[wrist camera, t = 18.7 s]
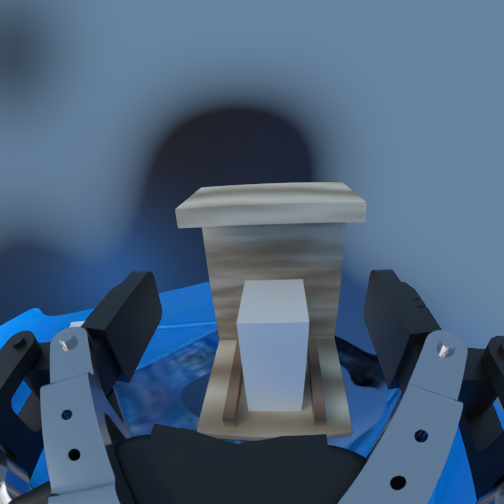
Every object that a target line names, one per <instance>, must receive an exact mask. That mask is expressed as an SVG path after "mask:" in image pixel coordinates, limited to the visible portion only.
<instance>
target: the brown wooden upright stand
mask: <svg viewBox="0 0 504 504" xmlns="http://www.w3.org/2000/svg"><path fill="white" fill-rule="evenodd" d="M175 210H176V218H177V224H178V228H191V227H202V230H203V238H204V245H205V252H206V259H207V266H208V273H209V279H210V286H211V292H212V298H213V304H214V310H215V316H216V322H217V328H218V333H219V339H220V340H219V344H218V348H217V352H216V356H215V360H214V364H213V368H212V372H211V376H210V379H209V383H208V387H207V391H206V395H205V399H204V403H203V407H202V411H201V415H200V419H199V423H198V427H197V432H200V433H202V434H205V435H208V436H211V437H214V438H220V439H233V440H253V441H259V440H264V439H270V438H275V437H279V436H297V435H318V434H327V439H328V438H339V437H347V436H351V435H352V426H351V420H350V414H349V409H348V403H347V397H346V392H345V387H344V382H343V377H342V372H341V367H340V362H339V357H338V353H337V348H336V343H335V339H334V337H335V328H336V321H337V313H338V305H339V295H340V285H341V274H342V262H343V248H344V230H345V222H365V219H366V202H365V201H364V200H363V199H362V198H361V197H359V196H358V195H357V194H356V193H354V191H352V190H351V189H350V188H349V187H347V186H346V185H345V184H344V183H343V182H313V183H274V184H251V185H234V186H218V187H205V188H201V189H199V190H198V191H197V192H196V193H194V194H193V195H192V196H191V197H189V198H188V199H187V200H186V201H185V202H184V203H182V204H181V205H180V206H179V207H178V208H176V209H175ZM288 279H303V284H304V290H305V297H306V303H307V310H308V317H309V333H308V348H307V360H306V372H305V383H304V393H303V403H302V411H248V405H247V398H246V391H245V384H244V377H243V369H242V362H241V355H240V347H239V339H238V331H237V318H238V313H239V308H240V303H241V298H242V293H243V288H244V283H245V280H288Z"/></svg>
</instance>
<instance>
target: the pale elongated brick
mask: <svg viewBox="0 0 504 504" xmlns="http://www.w3.org/2000/svg"><path fill="white" fill-rule="evenodd" d="M237 331H238V339H239V347H240V355H241V362H242V369H243V377H244V384H245V391H246V398H247V405H248V411H302V403H303V393H304V383H305V372H306V360H307V348H308V333H309V317H308V310H307V303H306V297H305V290H304V284H303V279H288V280H245V283H244V288H243V293H242V298H241V303H240V308H239V313H238V318H237Z"/></svg>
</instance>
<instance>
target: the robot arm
mask: <svg viewBox="0 0 504 504" xmlns="http://www.w3.org/2000/svg"><path fill="white" fill-rule="evenodd" d="M161 316H162V307H161V302H160V299H159V295H158V291H157V287H156V282H155V278H154V275H153V273H151V272H150V271H149V272H148V271H133V272H131V273H130V274H129V275H128V276H127V278H126V279H125V280H124V281H123V282H122V283H121V284H119V285H118V286H116V287H115V288H113V289H112V290H110V292H109V293H108V294H107V295H106V296H105V297H104V300H102V301H101V302H100V303H99V306H97V307H96V308H95V309H94V311H93V312H92V313H91V314H90V315H89V317H88V318H87V319H86V320H85V322H84V323H83V324H82V325H81V327H69V328H66V329H64V330H62V331H60V332H59V333H57V334H56V335H55V336H54V338H53V339H52V341H51V342H48V343H38V341H37V340H36V338H35V336H34V334H33V333H32V332H31V331H21V332H19V333H17V334H15V335H13V336H12V337H11V338H10V339H9V340H8V341H7V342H6V344H5V345H4V346H3V347H2V349H1V350H0V504H427V503H428V501H429V499H430V497H431V495H432V493H433V491H434V489H435V487H436V484H437V482H438V480H439V477H440V475H441V473H442V470H443V468H444V465H445V463H446V460H447V457H448V455H449V452H450V449H451V446H452V443H453V440H454V437H455V434H456V431H457V427H458V426H459V429H460V432H461V436H462V439H463V442H464V446H465V449H466V453H467V457H468V461H469V465H470V469H471V473H472V478H473V482H474V487H475V492H476V498H477V502H476V504H504V431H503V428H502V426H501V423H500V420H499V418H498V415H497V413H496V411H495V408H494V406H493V402H494V401H495V400H496V398H497V397H499V400H500V402H501V404H502V406H503V409H504V337H503V336H496V337H494V338H492V339H491V340H490V341H489V343H488V345H487V347H486V349H475V348H467V345H466V343H465V342H464V340H463V339H462V338H461V337H460V336H458V335H457V334H455V333H453V332H450V331H445V330H441V328H440V326H439V325H438V323H437V322H436V320H435V319H434V317H433V316H432V314H431V313H430V311H429V310H428V308H427V307H426V305H425V304H424V302H423V301H422V300H421V298H420V296H419V295H418V293H417V292H416V290H415V289H413V288H412V287H411V286H409V285H408V284H407V283H405V282H400V280H399V279H398V277H397V276H396V274H395V273H394V271H393V270H391V269H390V270H372V271H371V273H370V277H369V284H368V289H367V295H366V300H365V305H364V319H365V323H366V326H367V329H368V332H369V334H370V337H371V340H372V342H373V345H374V348H375V351H376V354H377V357H378V360H379V363H380V366H381V369H382V372H383V375H384V378H385V381H386V384H387V387H388V389H394V388H400V389H401V392H402V393H401V395H400V397H399V399H398V401H397V403H396V405H395V407H394V409H393V411H392V413H391V415H390V417H389V419H388V420H387V422H386V424H385V426H384V428H383V430H382V431H381V433H380V435H379V436H378V438H377V440H376V441H375V443H374V445H373V446H372V448H371V449H370V451H369V453H368V454H367V456H366V457H363V456H361V455H359V454H357V453H355V452H353V451H350V450H347V449H345V448H341V447H336V446H332V445H327V434H318V435H297V436H279V437H275V438H270V439H264V440H259V441H254V442H247V443H241V444H234V443H230V442H226V441H223V440H220V439H217V438H214V437H211V436H208V435H205V434H202V433H200V432H197V431H194V430H188V429H182V428H175V427H169V426H164V425H158V424H154V427H153V430H152V432H151V434H147V435H139V436H135V437H134V436H133V435H132V433H131V431H130V428H129V426H128V423H127V420H126V418H125V415H124V412H123V409H122V406H121V403H120V400H119V397H118V393H117V390H116V388H115V387H114V384H115V382H116V380H118V381H123V382H128V383H129V382H130V380H131V378H132V376H133V374H134V372H135V370H136V367H137V365H138V363H139V361H140V359H141V358H142V356H143V354H144V352H145V350H146V348H147V346H148V344H149V342H150V340H151V338H152V336H153V334H154V332H155V330H156V328H157V326H158V325H159V323H160V320H161ZM22 380H24V381H25V383H26V384H27V385H28V387H29V388H30V390H31V391H32V392H31V394H30V395H29V397H28V399H27V401H26V402H25V404H24V406H23V407H22V409H21V411H20V413H19V414H18V416H17V414H16V413H15V412H14V411H13V409H12V407H11V399H12V396H13V395H14V393H15V391H16V390H17V388H18V387H19V385H20V384H21V382H22ZM43 448H44V449H45V456H46V462H47V468H48V474H49V479H50V481H48V482H46V483H44V484H42V485H40V486H38V487H36V488H34V487H32V486H31V485H30V479H31V476H32V474H33V471H34V469H35V466H36V464H37V461H38V459H39V457H40V454H41V452H42V450H43Z"/></svg>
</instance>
